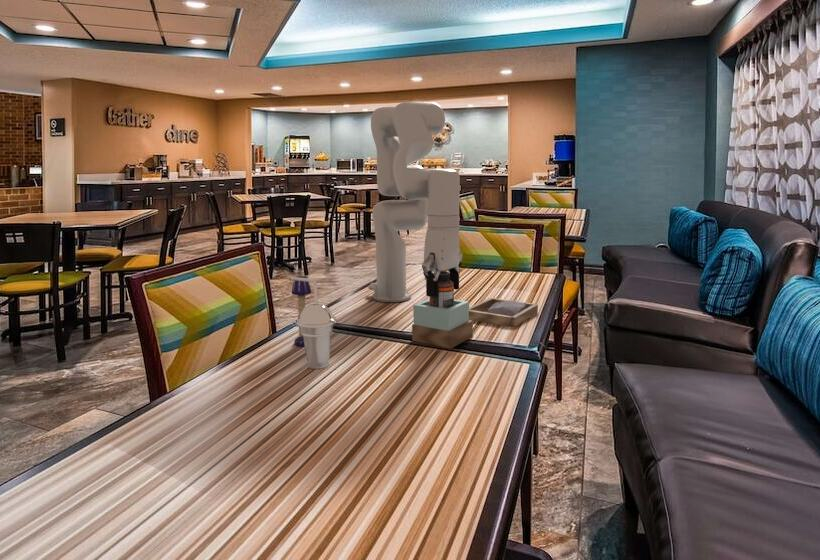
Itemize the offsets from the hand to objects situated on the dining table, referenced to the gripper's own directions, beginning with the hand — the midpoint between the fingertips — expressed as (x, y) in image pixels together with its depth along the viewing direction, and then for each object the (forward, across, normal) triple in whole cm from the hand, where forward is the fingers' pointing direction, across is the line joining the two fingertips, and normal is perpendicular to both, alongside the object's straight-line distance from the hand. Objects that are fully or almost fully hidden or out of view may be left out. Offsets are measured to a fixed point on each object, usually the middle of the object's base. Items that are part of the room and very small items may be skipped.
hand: (443, 292), depth 133 cm
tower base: (+12, -1, 0) cm, 12 cm away
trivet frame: (+12, -28, +3) cm, 31 cm away
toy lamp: (+12, +21, -27) cm, 36 cm away
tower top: (+8, 0, -1) cm, 8 cm away
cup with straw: (+12, +30, -14) cm, 35 cm away
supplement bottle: (+7, 0, 0) cm, 7 cm away
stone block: (+13, -29, +4) cm, 32 cm away
